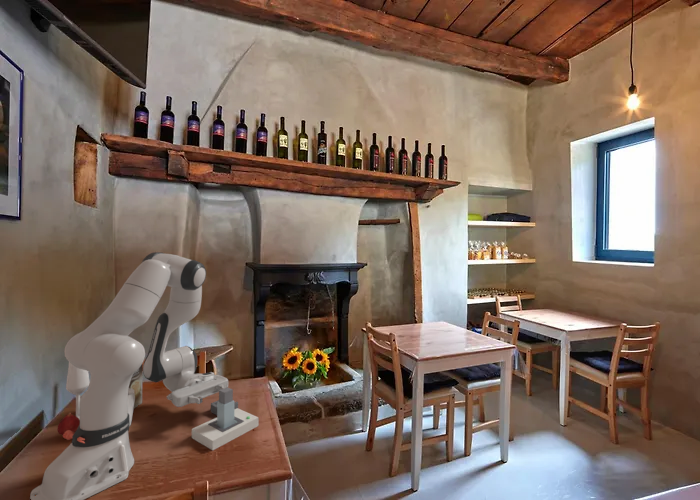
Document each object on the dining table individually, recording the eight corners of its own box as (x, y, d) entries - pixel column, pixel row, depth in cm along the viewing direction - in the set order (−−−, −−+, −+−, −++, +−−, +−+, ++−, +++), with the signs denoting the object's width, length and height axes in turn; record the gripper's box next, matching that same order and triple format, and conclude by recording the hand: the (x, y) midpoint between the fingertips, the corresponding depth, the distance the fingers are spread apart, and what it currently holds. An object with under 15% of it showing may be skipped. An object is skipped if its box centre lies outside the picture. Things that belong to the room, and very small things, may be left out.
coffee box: (127, 413, 128) (127, 371, 128) (110, 413, 129) (110, 371, 129) (143, 402, 138) (143, 363, 138) (127, 402, 138) (127, 363, 138)
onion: (56, 443, 109) (56, 419, 109) (58, 435, 114) (58, 411, 113) (79, 437, 112) (79, 413, 112) (80, 430, 117) (80, 407, 117)
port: (212, 450, 106) (212, 439, 106) (191, 437, 113) (191, 427, 112) (258, 425, 120) (258, 416, 120) (237, 416, 127) (237, 407, 127)
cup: (119, 435, 114) (119, 400, 114) (97, 432, 116) (97, 397, 115) (141, 422, 123) (141, 389, 122) (120, 419, 124) (120, 386, 124)
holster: (221, 417, 126) (221, 409, 126) (209, 411, 131) (209, 403, 131) (238, 409, 132) (238, 402, 132) (226, 404, 137) (226, 397, 136)
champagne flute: (84, 424, 121) (84, 357, 121) (61, 426, 119) (61, 359, 119) (93, 415, 127) (93, 351, 127) (72, 417, 125) (72, 353, 125)
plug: (224, 434, 114) (224, 393, 113) (217, 431, 116) (217, 390, 116) (234, 429, 117) (234, 389, 117) (227, 426, 119) (227, 386, 119)
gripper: (164, 387, 121) (184, 398, 113) (215, 370, 137) (236, 378, 129) (164, 405, 121) (184, 416, 113) (215, 386, 137) (236, 394, 129)
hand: (213, 396), depth 121 cm, fingers open, 8 cm apart
